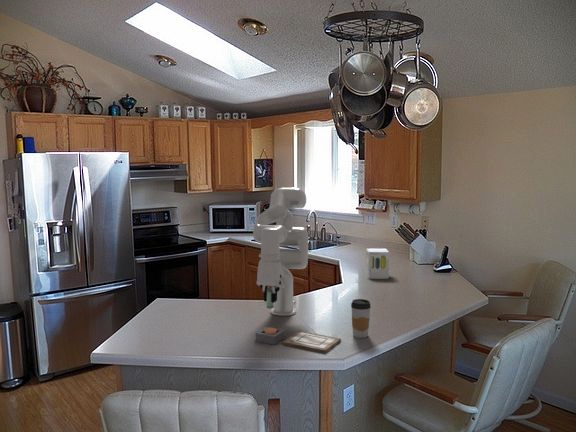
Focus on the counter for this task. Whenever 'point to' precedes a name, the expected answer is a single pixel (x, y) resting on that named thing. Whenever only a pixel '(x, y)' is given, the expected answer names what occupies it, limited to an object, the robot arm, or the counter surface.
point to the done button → (270, 331)
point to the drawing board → (312, 341)
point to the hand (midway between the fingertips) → (270, 300)
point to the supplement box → (377, 263)
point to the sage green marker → (269, 298)
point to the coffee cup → (360, 317)
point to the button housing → (270, 336)
